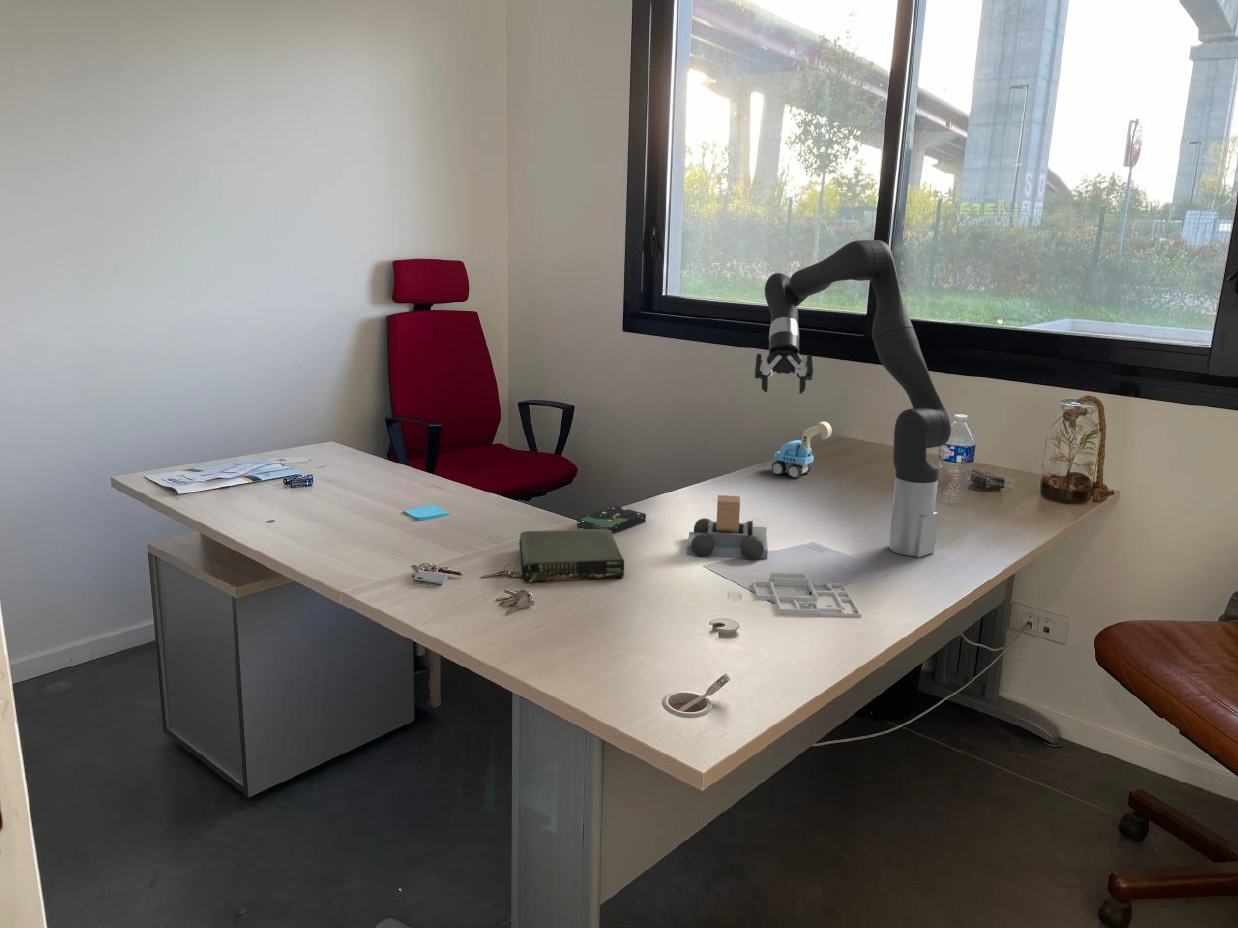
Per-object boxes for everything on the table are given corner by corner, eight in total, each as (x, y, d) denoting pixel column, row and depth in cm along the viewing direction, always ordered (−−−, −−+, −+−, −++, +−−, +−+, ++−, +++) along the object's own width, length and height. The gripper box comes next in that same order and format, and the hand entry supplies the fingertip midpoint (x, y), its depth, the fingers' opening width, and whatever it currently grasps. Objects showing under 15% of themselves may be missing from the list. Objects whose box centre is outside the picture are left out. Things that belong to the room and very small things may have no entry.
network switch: (525, 590, 187) (525, 567, 186) (507, 552, 209) (507, 531, 208) (635, 580, 193) (636, 557, 192) (607, 544, 215) (607, 523, 214)
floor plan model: (721, 580, 194) (721, 571, 194) (840, 583, 194) (841, 574, 193) (729, 616, 176) (730, 607, 176) (861, 619, 176) (862, 610, 175)
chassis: (766, 541, 217) (767, 513, 215) (767, 561, 204) (769, 531, 203) (689, 537, 219) (690, 509, 218) (686, 556, 207) (687, 526, 205)
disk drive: (614, 515, 237) (576, 529, 226) (614, 505, 237) (576, 518, 225) (646, 523, 231) (609, 537, 220) (646, 513, 230) (609, 526, 219)
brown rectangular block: (737, 537, 214) (739, 496, 211) (737, 544, 209) (739, 502, 206) (716, 536, 214) (717, 495, 212) (715, 543, 209) (717, 501, 207)
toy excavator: (819, 483, 268) (823, 425, 264) (768, 474, 278) (771, 418, 274) (831, 477, 275) (836, 421, 271) (781, 468, 285) (784, 413, 281)
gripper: (756, 329, 233) (754, 381, 225) (813, 330, 232) (814, 383, 223) (755, 347, 240) (753, 399, 232) (811, 349, 238) (811, 401, 230)
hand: (783, 391), depth 228 cm, fingers open, 8 cm apart
